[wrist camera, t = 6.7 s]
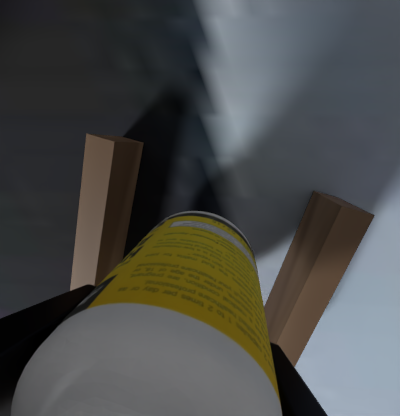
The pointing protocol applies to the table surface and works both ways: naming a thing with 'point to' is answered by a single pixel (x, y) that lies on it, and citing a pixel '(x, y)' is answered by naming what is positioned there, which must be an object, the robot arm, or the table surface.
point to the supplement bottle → (162, 334)
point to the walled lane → (288, 275)
